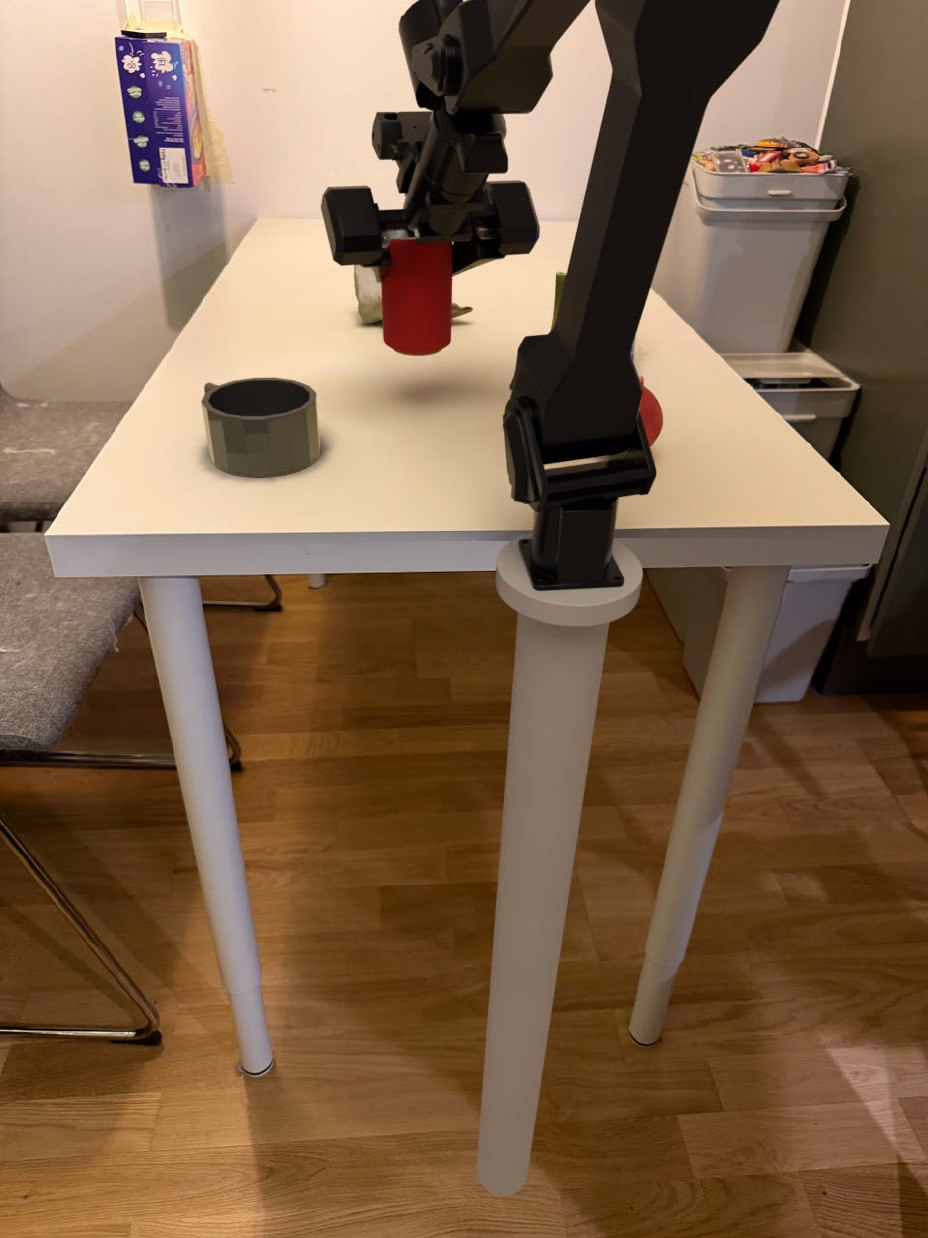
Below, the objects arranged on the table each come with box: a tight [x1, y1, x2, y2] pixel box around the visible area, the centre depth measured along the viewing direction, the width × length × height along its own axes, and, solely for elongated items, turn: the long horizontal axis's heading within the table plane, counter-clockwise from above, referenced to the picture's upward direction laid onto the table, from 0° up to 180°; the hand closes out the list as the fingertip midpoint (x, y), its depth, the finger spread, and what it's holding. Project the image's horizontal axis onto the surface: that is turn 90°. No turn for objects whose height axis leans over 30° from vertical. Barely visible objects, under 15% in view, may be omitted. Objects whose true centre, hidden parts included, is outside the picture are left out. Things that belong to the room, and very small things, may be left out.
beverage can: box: [381, 239, 453, 357], centre depth 84 cm, size 7×7×12 cm
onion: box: [638, 375, 664, 447], centre depth 80 cm, size 6×6×8 cm
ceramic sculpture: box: [353, 265, 474, 324], centre depth 112 cm, size 11×9×15 cm
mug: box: [200, 377, 321, 478], centre depth 81 cm, size 13×10×6 cm
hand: (412, 275), depth 85 cm, fingers closed on beverage can, 7 cm apart
